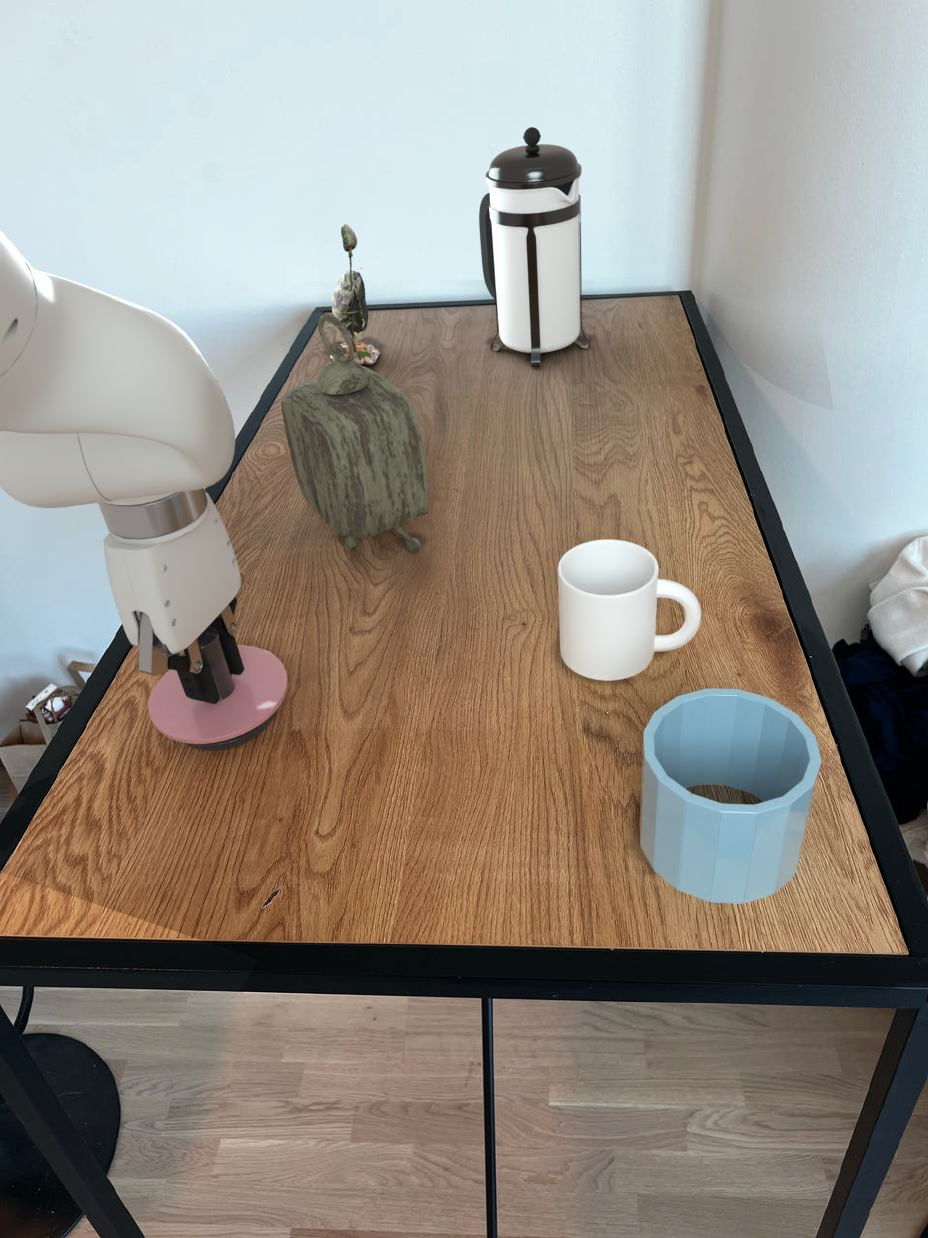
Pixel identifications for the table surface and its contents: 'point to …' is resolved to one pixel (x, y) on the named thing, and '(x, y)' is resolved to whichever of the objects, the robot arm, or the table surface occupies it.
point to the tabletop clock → (356, 448)
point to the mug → (616, 609)
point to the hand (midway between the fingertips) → (215, 682)
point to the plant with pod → (353, 306)
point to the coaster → (233, 739)
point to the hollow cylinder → (739, 758)
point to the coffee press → (533, 246)
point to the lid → (240, 695)
